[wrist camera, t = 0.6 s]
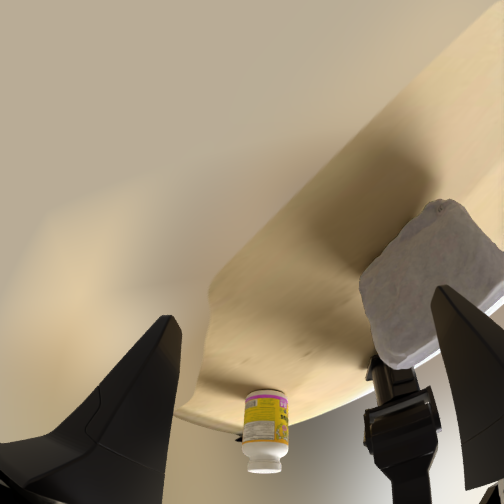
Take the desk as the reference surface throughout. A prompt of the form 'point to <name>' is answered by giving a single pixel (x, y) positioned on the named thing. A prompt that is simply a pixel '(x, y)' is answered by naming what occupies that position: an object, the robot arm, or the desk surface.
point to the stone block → (427, 280)
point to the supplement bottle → (265, 430)
